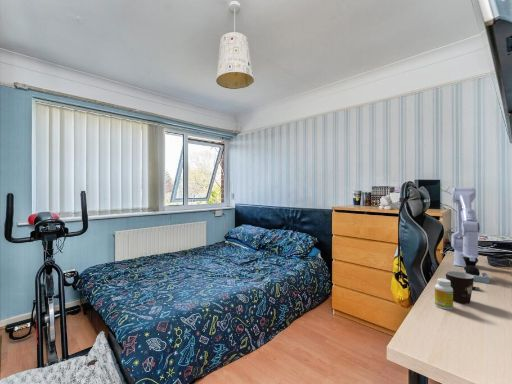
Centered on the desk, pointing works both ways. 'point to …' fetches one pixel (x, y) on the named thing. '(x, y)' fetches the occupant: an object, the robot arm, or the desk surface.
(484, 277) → the corral
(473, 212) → the robot arm
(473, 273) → the billiard ball
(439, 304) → the supplement bottle
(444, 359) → the desk surface
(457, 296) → the coffee mug
